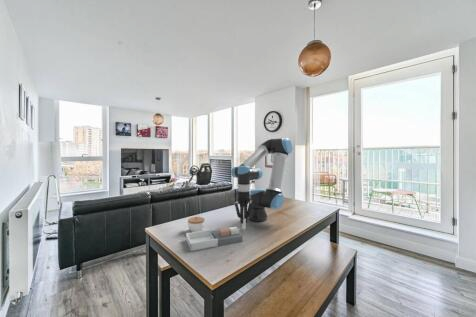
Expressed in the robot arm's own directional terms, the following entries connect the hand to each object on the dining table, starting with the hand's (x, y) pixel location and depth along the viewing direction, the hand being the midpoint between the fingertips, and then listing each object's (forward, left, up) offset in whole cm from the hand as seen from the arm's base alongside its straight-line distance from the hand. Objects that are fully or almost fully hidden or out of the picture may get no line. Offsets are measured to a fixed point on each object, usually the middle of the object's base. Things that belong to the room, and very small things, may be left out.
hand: (243, 228), depth 125 cm
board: (+11, 0, -5) cm, 12 cm away
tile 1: (+13, 0, -2) cm, 13 cm away
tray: (+26, 0, -5) cm, 27 cm away
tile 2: (+7, 0, -2) cm, 7 cm away
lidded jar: (+26, -19, -5) cm, 32 cm away
